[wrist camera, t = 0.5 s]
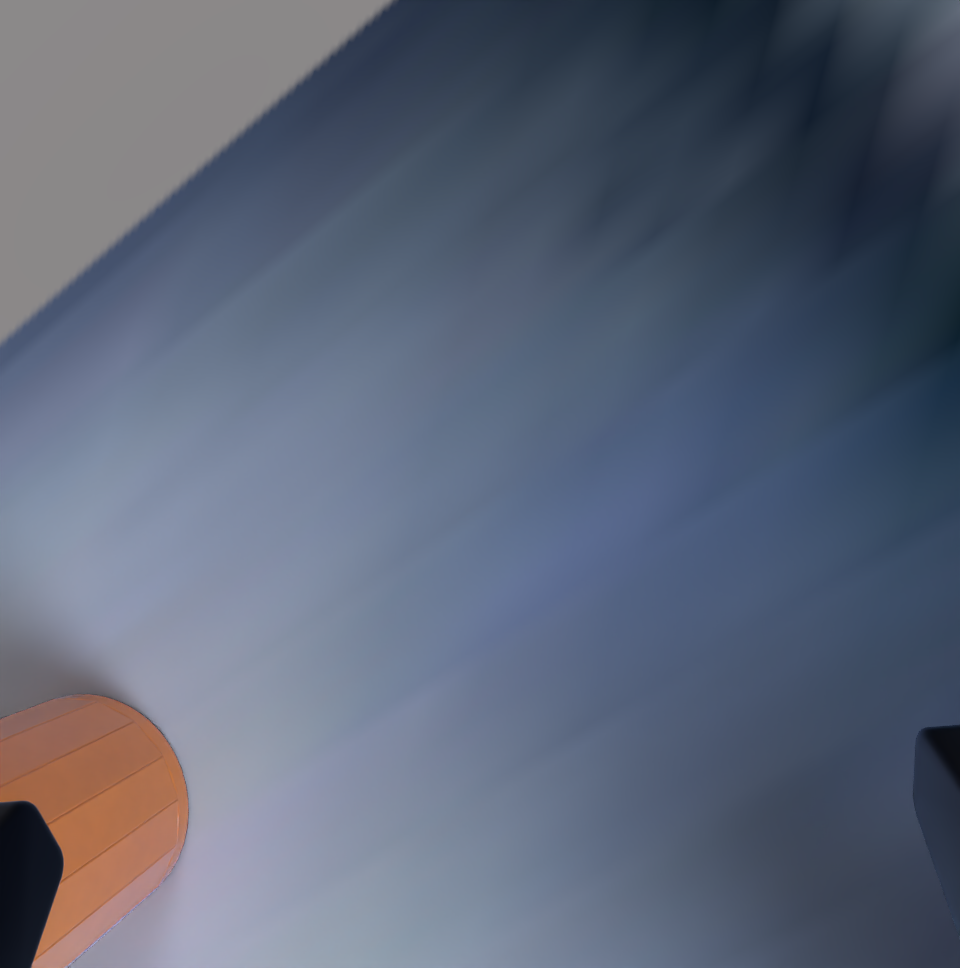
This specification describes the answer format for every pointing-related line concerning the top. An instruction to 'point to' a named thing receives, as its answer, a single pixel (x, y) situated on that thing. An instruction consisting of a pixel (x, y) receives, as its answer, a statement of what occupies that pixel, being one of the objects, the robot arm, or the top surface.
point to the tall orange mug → (96, 810)
